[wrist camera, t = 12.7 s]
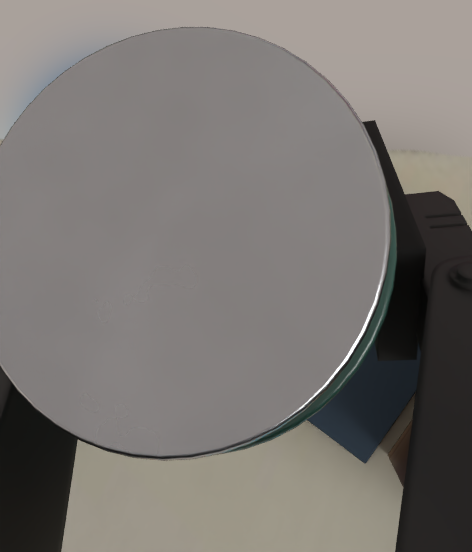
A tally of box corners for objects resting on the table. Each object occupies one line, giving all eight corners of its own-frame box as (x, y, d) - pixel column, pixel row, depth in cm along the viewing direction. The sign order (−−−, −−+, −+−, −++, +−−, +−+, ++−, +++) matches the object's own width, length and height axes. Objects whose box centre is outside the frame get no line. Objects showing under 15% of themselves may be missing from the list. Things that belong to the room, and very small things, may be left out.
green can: (179, 321, 18) (-120, 292, 6) (259, 205, 17) (118, -57, 6) (296, 410, 16) (210, 600, 4) (384, 284, 16) (524, 145, 4)
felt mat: (187, 329, 39) (186, 328, 39) (271, 207, 39) (270, 206, 39) (365, 462, 35) (365, 464, 34) (459, 326, 35) (461, 325, 34)
